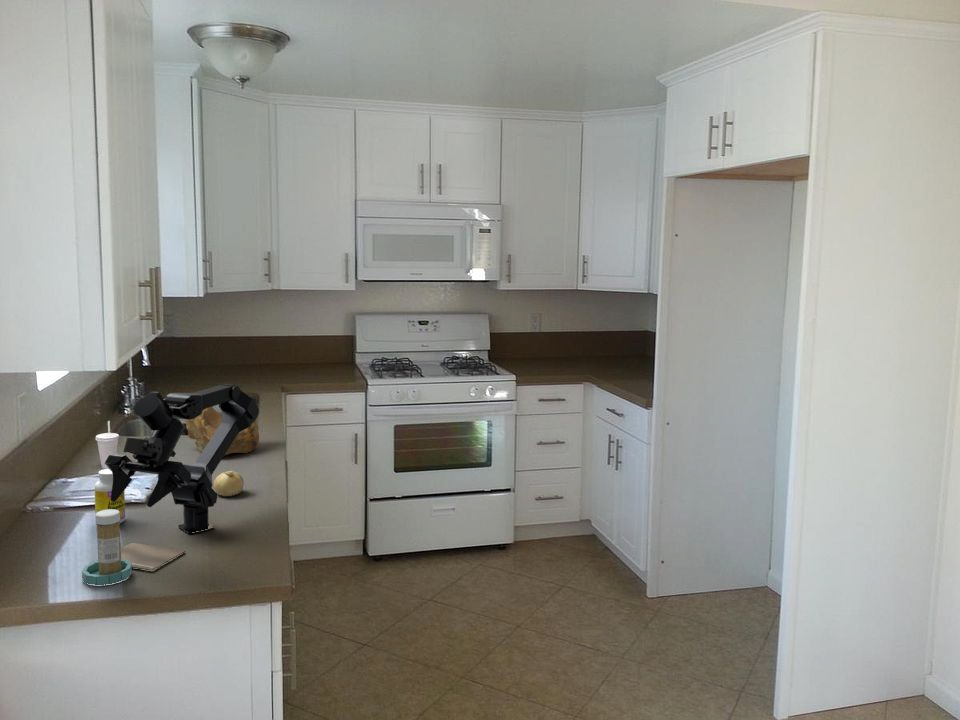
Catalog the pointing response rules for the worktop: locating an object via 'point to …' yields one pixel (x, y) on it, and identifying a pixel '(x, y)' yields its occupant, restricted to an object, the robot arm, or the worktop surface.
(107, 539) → the sprinkles bottle
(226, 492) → the onion
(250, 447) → the rough brown rock
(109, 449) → the smoothie
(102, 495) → the supplement bottle
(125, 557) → the board
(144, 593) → the worktop surface
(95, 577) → the bowl
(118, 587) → the worktop surface
